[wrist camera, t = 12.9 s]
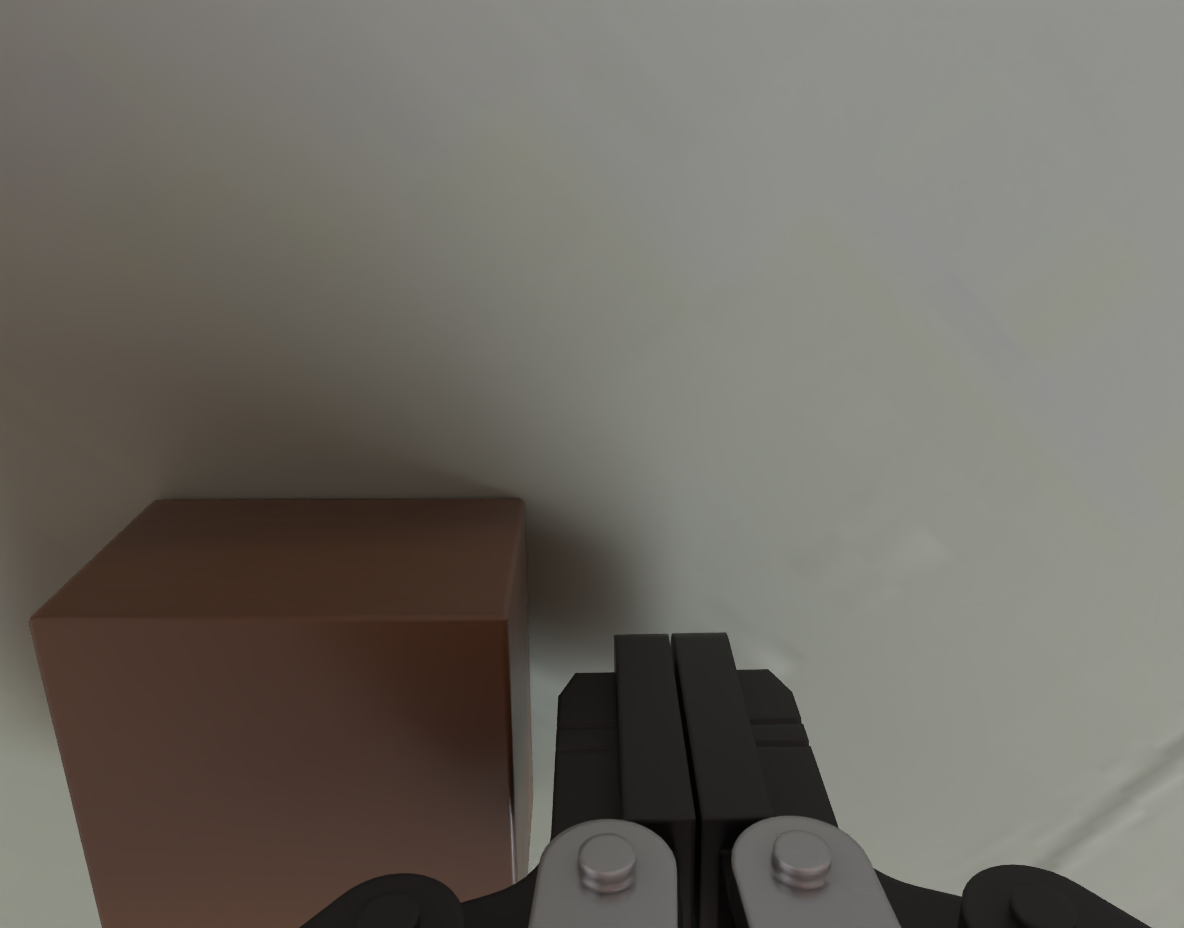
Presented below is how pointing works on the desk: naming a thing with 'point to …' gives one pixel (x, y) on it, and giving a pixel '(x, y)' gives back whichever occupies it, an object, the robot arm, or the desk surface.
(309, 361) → the desk surface
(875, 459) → the desk surface
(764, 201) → the desk surface
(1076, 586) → the desk surface
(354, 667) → the dark reddish-brown block
